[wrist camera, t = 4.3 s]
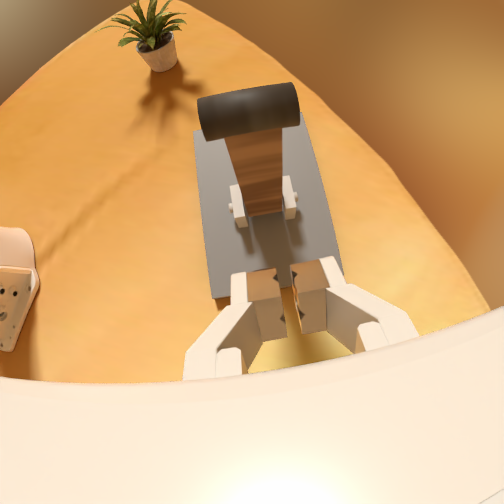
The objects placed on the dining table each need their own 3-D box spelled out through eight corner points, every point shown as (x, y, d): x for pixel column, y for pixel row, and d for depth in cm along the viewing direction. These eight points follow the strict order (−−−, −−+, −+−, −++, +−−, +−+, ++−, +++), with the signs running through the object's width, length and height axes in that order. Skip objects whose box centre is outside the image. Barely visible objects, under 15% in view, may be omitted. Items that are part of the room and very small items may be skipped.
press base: (341, 276, 37) (351, 270, 32) (214, 299, 38) (204, 295, 33) (301, 117, 43) (302, 94, 37) (195, 136, 43) (185, 115, 38)
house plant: (143, 107, 46) (103, 42, 30) (116, 74, 49) (80, 19, 33) (211, 63, 47) (190, -8, 31) (174, 36, 50) (152, -23, 34)
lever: (292, 210, 36) (301, 106, 17) (238, 219, 36) (199, 124, 18) (287, 185, 37) (289, 73, 18) (235, 195, 37) (196, 89, 18)
